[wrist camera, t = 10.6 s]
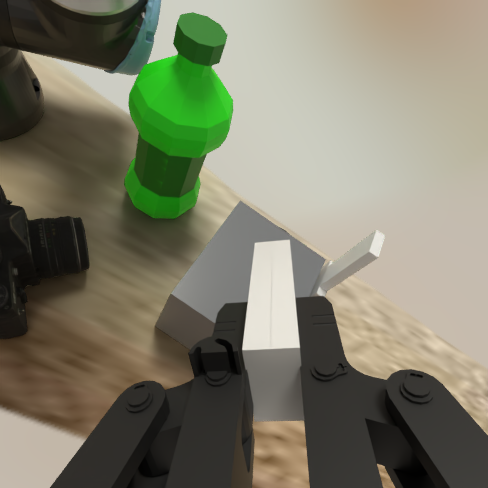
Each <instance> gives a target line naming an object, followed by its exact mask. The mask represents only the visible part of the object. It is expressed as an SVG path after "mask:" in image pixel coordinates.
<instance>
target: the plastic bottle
mask: <svg viewBox="0 0 488 488" xmlns="http://www.w3.org/2000/svg"><path fill="white" fill-rule="evenodd" d="M226 39H227V34H226V33H225V31H224V30H223V28H222V27H221V25H219V24H218V23H216V22H215V21H213V20H212V19H210V18H209V17H207V16H203V15H199V14H196V13H187V14H182V15H180V18H179V20H178V22H177V27H176V32H175V38H174V43H173V44H174V46H175V47H176V49H177V51H178V55H176V56H172V57H168V58H165V59H161V60H158V61H155V62H152V63H149V64H146V65H144V66H143V68H142V70H141V71H140V73H139V75H138V77H137V79H136V81H135V83H134V86H133V87H132V89H131V92H130V94H129V110H130V115H131V117H132V119H133V121H134V123H135V125H136V127H137V129H138V131H139V135H138V143H137V150H136V157H135V158H134V159H133V160H132V162H131V164H130V167H129V169H128V172H127V174H126V177H125V181H124V185H125V187H126V190H127V192H128V194H129V196H130V198H131V201H132V203H133V205H134V206H135V207H136V208H137V209H139V210H141V211H142V212H144V213H146V214H147V215H149V216H151V217H152V218H168V219H175V218H177V217H178V216H180V215H181V214H183V213H184V212H186V211H188V210H189V209H191V208H192V207H194V206H195V204H196V201H197V197H198V192H199V188H200V179H199V173H200V170H201V168H202V165H203V162H204V160H205V157H206V154H207V153H209V152H211V151H213V150H215V149H216V148H218V147H219V146H221V144H222V143H223V142H224V141H225V139H226V137H227V134H228V132H229V128H230V123H231V118H232V113H233V100H232V98H231V96H230V95H229V93H228V91H227V90H226V88H225V87H224V85H223V83H222V82H221V80H220V79H219V77H218V76H217V74H216V73H215V71H214V70H213V69H212V68H211V66H212V65H214V64H217V63H219V62H220V58H221V55H222V52H223V49H224V46H225V43H226Z"/></svg>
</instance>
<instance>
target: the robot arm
mask: <svg viewBox="0 0 488 488" xmlns="http://www.w3.org/2000/svg"><path fill="white" fill-rule="evenodd" d="M160 6H161V0H0V140H5V139H9V138H13V137H16V136H18V135H20V134H23V133H25V132H26V131H28V130H29V129H31V128H32V127H33V126H34V125H36V123H37V122H38V121H39V120H40V118H41V116H42V114H43V111H44V99H43V93H42V88H41V85H40V83H39V81H38V79H37V77H36V75H35V74H34V72H33V70H32V68H31V67H30V65H29V63H28V62H27V60H26V58H25V57H24V55H23V53H22V52H21V50H22V51H26V52H31V53H35V54H39V55H43V56H47V57H52V58H56V59H60V60H64V61H69V62H73V63H77V64H81V65H85V66H90V67H94V68H98V69H102V70H104V71H106V72H108V73H121V74H127V75H136V74H139V73H140V71H141V70H142V68H143V66H144V65H146V64H147V62H148V59H149V57H150V54H151V51H152V47H153V42H154V35H155V32H156V29H157V25H158V19H159V13H160ZM188 354H189V358H190V362H191V365H192V369H193V373H194V379H192V380H191V381H189V382H187V383H185V384H182V385H180V386H177V387H173V388H170V389H167V390H165V389H164V388H163V387H162V385H161V384H160V383H157V382H155V381H143V382H140V383H136V384H134V385H132V386H131V387H129V388H127V389H126V390H125V391H124V392H123V393H122V394H121V395H120V396H119V397H118V398H117V400H116V401H115V402H114V404H113V405H112V406H111V408H110V409H109V410H108V412H107V413H106V414H105V416H104V417H103V418H102V420H101V421H100V422H99V424H98V425H97V426H96V428H95V429H94V430H93V432H92V433H91V434H90V435H89V437H88V438H87V439H86V441H85V442H84V443H83V445H82V446H81V447H80V449H79V450H78V451H77V453H76V454H75V455H74V457H73V458H72V459H71V461H70V462H69V463H68V465H67V466H66V467H65V469H64V470H63V471H62V473H61V474H60V475H59V477H58V478H57V479H56V480H55V482H54V483H53V484H52V486H51V487H50V488H252V478H253V459H254V434H253V428H252V424H253V414H254V420H255V421H300V420H304V422H305V434H306V446H307V458H308V470H309V482H310V488H383V486H382V482H381V478H380V474H379V470H378V467H377V464H380V465H383V466H385V469H386V471H387V472H388V474H389V476H390V478H391V480H392V482H393V484H394V486H395V488H488V435H487V434H486V433H485V432H484V431H483V430H482V429H481V427H480V426H479V425H478V424H477V423H476V422H475V421H474V419H473V418H472V417H471V416H470V415H469V414H468V413H467V412H466V410H465V409H464V408H463V407H462V406H461V405H460V404H459V402H458V401H457V400H456V399H455V398H454V397H453V396H452V395H451V393H450V392H449V391H448V390H447V389H446V388H445V387H444V385H443V384H441V383H440V382H439V381H438V380H437V379H436V378H434V377H433V376H431V375H429V374H426V373H424V372H422V371H417V370H412V369H409V370H399V371H397V372H395V373H393V374H391V376H390V377H389V378H388V379H387V380H384V379H380V378H375V377H371V376H368V375H365V374H363V373H361V372H359V371H357V370H356V369H354V368H353V367H352V366H351V365H350V364H349V363H348V361H347V360H346V357H345V354H344V351H343V347H342V343H341V339H340V335H339V331H338V327H337V324H336V319H335V316H334V311H333V307H332V304H331V303H330V302H329V301H328V300H327V299H326V298H325V297H324V296H313V297H298V298H295V291H294V280H293V269H292V259H291V248H290V240H280V241H269V242H258V243H255V246H254V255H253V263H252V271H251V280H250V288H249V297H248V302H238V303H225V304H224V306H223V307H222V308H221V309H220V310H219V311H218V313H217V317H216V322H215V326H214V330H213V334H212V336H211V337H207V338H205V339H202V340H200V341H198V342H197V343H196V344H195V345H194V346H193V347H192V348H191V350H190V352H189V353H188Z"/></svg>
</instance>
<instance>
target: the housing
mask: <svg viewBox="0 0 488 488" xmlns="http://www.w3.org/2000/svg"><path fill="white" fill-rule="evenodd" d="M280 240H290V248H291V259H292V269H293V280H294V291H295V298H298V297H309V296H310V294H311V291H312V289H313V287H314V285H315V282H316V280H317V278H318V275H319V273H320V271H321V269H322V266H323V264H324V262H325V260H326V259H324V258H323V257H321V256H320V255H318V254H317V253H316V252H314V251H313V250H311V249H310V248H308V247H307V246H305V245H304V244H302V243H301V242H300V241H298V240H297V239H295V238H294V237H292V236H291V235H290V234H289V233H287V232H286V231H285V230H283V229H282V228H280V227H278V226H276V225H275V224H273V223H272V222H271V221H269V220H268V219H266V218H265V217H263V216H262V215H260V214H259V213H257V212H256V211H255V210H253V209H252V208H250V207H249V206H247V205H246V204H244V203H243V202H242V201H240V202H239V203H238V204H237V206H236V207H235V208H234V210H233V211H232V212H231V214H230V215H229V216H228V218H227V219H226V220H225V222H224V223H223V224H222V226H221V227H220V228H219V230H218V231H217V232H216V234H215V235H214V236H213V238H212V239H211V240H210V242H209V243H208V245H207V246H206V247H205V249H204V250H203V251H202V253H201V254H200V255H199V257H198V258H197V259H196V261H195V262H194V263H193V265H192V266H191V267H190V269H189V270H188V271H187V273H186V274H185V275H184V277H183V278H182V279H181V281H180V282H179V283H178V285H177V286H176V287H175V289H174V290H173V291H172V293H171V294H170V296H169V298H168V300H167V302H166V304H165V306H164V308H163V310H162V312H161V314H160V317H159V319H158V321H157V323H156V325H155V327H157V328H158V329H160V330H161V331H163V332H164V333H166V334H167V335H169V336H170V337H172V338H173V339H175V340H176V341H178V342H179V343H181V344H182V345H184V346H185V347H187V348H188V349H190V350H191V348H192V347H193V346H194V345H195V344H196V343H197V342H198V341H200V340H202V339H205V338H207V337H211V336H212V334H213V330H214V326H215V322H216V317H217V313H218V311H219V310H220V309H221V308H222V307H223V306H224V304H225V303H238V302H248V297H249V288H250V280H251V271H252V263H253V255H254V246H255V243H258V242H269V241H280Z"/></svg>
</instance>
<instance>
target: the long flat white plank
mask: <svg viewBox="0 0 488 488" xmlns="http://www.w3.org/2000/svg"><path fill="white" fill-rule="evenodd" d="M384 238H385V235H384V234H382V233H381V232H379V231H378V230H375V231H374V232H373V233H372V234H370V235H369V236H368V237H366V238H365V239H364V240H362V241H361V242H360V243H358V244H357V245H356V246H354V247H353V248H352V249H350V250H349V251H348V252H347V253H345V254H344V255H343V256H341V257H340V258H339V259H337V260H336V261H335V262H332V261H331V260H330V261H329V262H328V263H327V264H325V265H324V266H323V267H322V269H321V271H320V273H319V275H318V278H317V280H316V282H315V285H314V287H313V289H312V291H311V294H310V296H309V297H313V296H324V297H325V295H326V293H327V291H328V290H330V289H331V288H333V287H334V286H336V285H337V284H339V283H340V282H342V281H343V280H345V279H346V278H348V277H349V276H351V275H353V274H354V273H356V272H357V271H359V270H360V269H362V268H363V267H365V266H366V265H368V264H369V263H371V262H372V261H374V260H375V259H377V258H378V257H379V254H380V250H381V247H382V244H383V241H384Z"/></svg>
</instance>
